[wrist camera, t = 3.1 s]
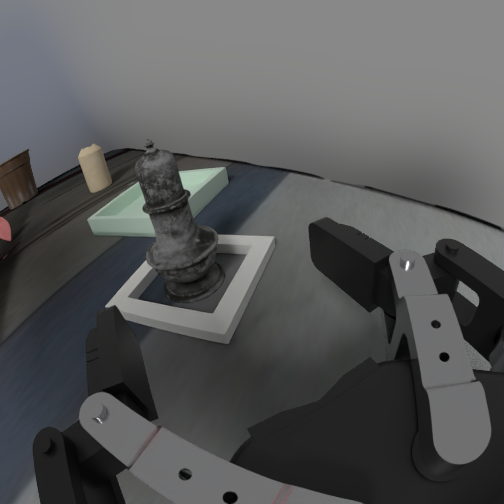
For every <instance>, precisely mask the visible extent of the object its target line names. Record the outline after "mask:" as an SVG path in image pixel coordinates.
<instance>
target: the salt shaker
mask: <svg viewBox="0 0 504 504" xmlns="http://www.w3.org/2000/svg"><path fill="white" fill-rule="evenodd" d="M153 144H154V143H152V141H151V140H149V139H147V142H146V145H145V147H147V152H145V154H144V155H143V156H142V157H141V158H140V159H139V160H138V161H137V163H136V166H135V172H136V175H137V178H138V181H139V184H140V187H141V190H142V193H143V196H144V199H145V202H146V203H145V204H144V205H143V208H142V210H143V212H145V213H147V214H149V217H150V219H151V222H152V225H153V228H154V230H155V235H156V241H154V242H153V243H152V245H151V246H150V247H149V249H148V251H147V253H146V260H147V263H148V264H149V265H150V266H151V267H152V268H154V269H155V271H156V272H157V273H158V274H160V275H161V276H162V277H163V278H164V279H166V281H165V284H164V292H165V294H166V296H167V297H168V298H169V299H170V300H173V301H175V302H180V303H191V302H195V301H199V300H202V299H204V298H206V297H208V296H210V295H211V294H213V293H214V292H216V291H217V289H218V288H219V287H220V286H221V285H222V283H223V281H224V277H225V274H224V270H223V268H222V267H221V266H220V265H219V264H217V263H216V262H215V258H216V252H217V247H216V245H217V243H218V239H219V238H218V235H217V232H216V231H215V230H214V229H212V228H210V227H208V226H202V225H197V224H196V222H195V220H194V218H193V216H192V212H191V209H190V205H189V202H188V199H189V197H190V196H191V194H190V191H188V190H186V189H184V188H183V185H182V181H181V178H180V174H179V171H178V167H177V163H176V160H175V157H174V155H173V154H172V153H171V152H169V151H167V150H159V149H157V148H156V149H154V147H153Z"/></svg>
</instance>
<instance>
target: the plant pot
mask: <svg viewBox="0 0 504 504" xmlns="http://www.w3.org/2000/svg"><path fill="white" fill-rule="evenodd" d="M28 151H29V149H27V150H25V151H23V152H22V153H20V154H18V155H16V156H14V157H12V158H10V159H9V160H7V161H5V162H4V163H2V164H1V165H0V189H1V191H2V194H3V196H4V198H5V199H6V202H7V204H8V206H9V208H10V209H11V210H12V209H15V208H17V207H19V206H21V205H22V204H23V202H25V201H26V202H27V201H29V200H30V199H32V198H33V197H35V196H36V195H37V194H38V190H37V187H36V184H35V180H34V177H33V173H32V169H31V165H30V157H29V153H28Z"/></svg>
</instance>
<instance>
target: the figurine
mask: <svg viewBox="0 0 504 504" xmlns="http://www.w3.org/2000/svg"><path fill="white" fill-rule="evenodd" d="M0 238H1V239H4V240H7V241H11V229H10V226H9V223H8V222H7V221H6V220H5V219H3V218H2V217H0ZM19 243H20V242H19ZM19 243H18V244H19ZM18 244H17V245H18ZM17 245H16V246H17ZM16 246H15V247H16ZM15 247H14V248H15ZM14 248H13V249H14ZM13 249H12V250H13ZM12 250H11V251H12ZM11 251H10V252H11ZM10 252H9V253H10ZM9 253H7V254H6V255H5V256H4V257H3V258H2V259H4V258H5V257H6V256H7V255H8V254H9ZM2 259H0V260H2Z"/></svg>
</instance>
